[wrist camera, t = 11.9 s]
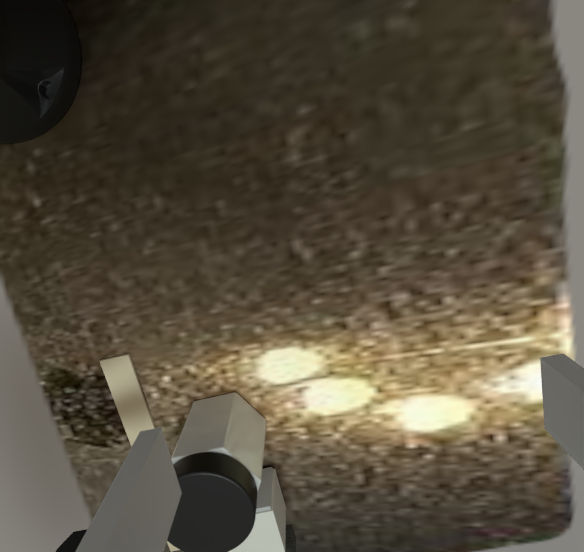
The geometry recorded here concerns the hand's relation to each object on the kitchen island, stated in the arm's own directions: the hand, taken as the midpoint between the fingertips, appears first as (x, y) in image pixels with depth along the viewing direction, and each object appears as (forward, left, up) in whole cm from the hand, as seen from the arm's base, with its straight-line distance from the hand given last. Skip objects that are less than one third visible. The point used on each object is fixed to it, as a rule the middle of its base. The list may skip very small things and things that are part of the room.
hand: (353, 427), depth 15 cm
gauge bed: (+17, -21, -28) cm, 39 cm away
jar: (+16, -13, -28) cm, 35 cm away
